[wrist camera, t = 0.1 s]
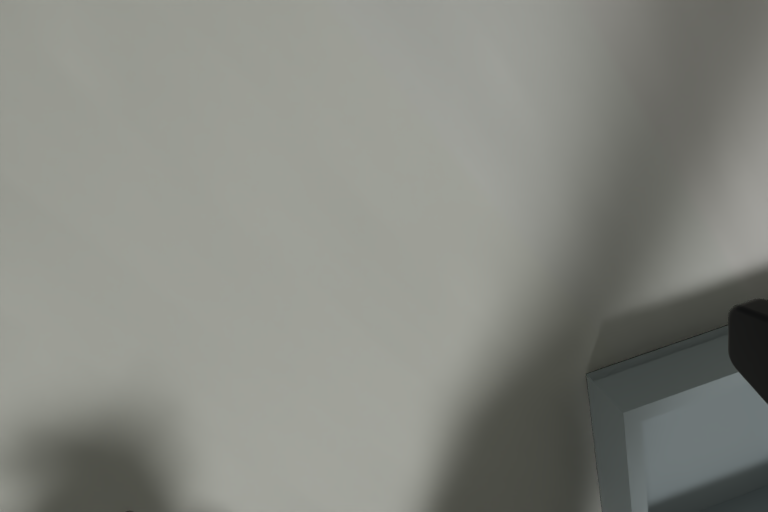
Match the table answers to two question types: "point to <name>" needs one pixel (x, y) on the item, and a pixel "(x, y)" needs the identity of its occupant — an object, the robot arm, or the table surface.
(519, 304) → the table surface
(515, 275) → the table surface
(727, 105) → the table surface
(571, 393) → the table surface
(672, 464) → the slate tray
